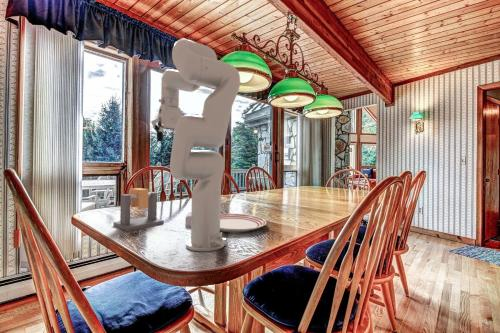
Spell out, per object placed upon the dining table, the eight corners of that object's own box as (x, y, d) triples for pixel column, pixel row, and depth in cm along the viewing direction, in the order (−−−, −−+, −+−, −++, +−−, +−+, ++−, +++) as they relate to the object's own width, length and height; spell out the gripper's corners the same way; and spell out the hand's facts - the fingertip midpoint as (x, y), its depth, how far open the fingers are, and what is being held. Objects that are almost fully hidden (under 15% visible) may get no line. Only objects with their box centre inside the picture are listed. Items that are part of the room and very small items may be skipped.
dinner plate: (267, 221, 121) (267, 214, 121) (265, 238, 94) (265, 229, 94) (211, 218, 124) (211, 211, 124) (193, 234, 97) (194, 225, 97)
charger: (208, 218, 123) (207, 226, 108) (188, 219, 122) (185, 227, 107) (208, 209, 123) (207, 215, 108) (188, 209, 122) (185, 216, 107)
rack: (163, 223, 111) (164, 193, 110) (127, 231, 98) (127, 196, 98) (148, 219, 118) (149, 190, 118) (113, 225, 105) (113, 193, 105)
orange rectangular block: (148, 207, 107) (148, 189, 107) (139, 209, 104) (139, 190, 104) (139, 205, 112) (139, 188, 111) (130, 207, 108) (130, 188, 108)
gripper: (157, 98, 103) (156, 140, 104) (190, 106, 117) (190, 143, 117) (147, 101, 108) (146, 140, 108) (180, 108, 122) (180, 143, 122)
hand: (169, 142), depth 113 cm, fingers open, 9 cm apart
